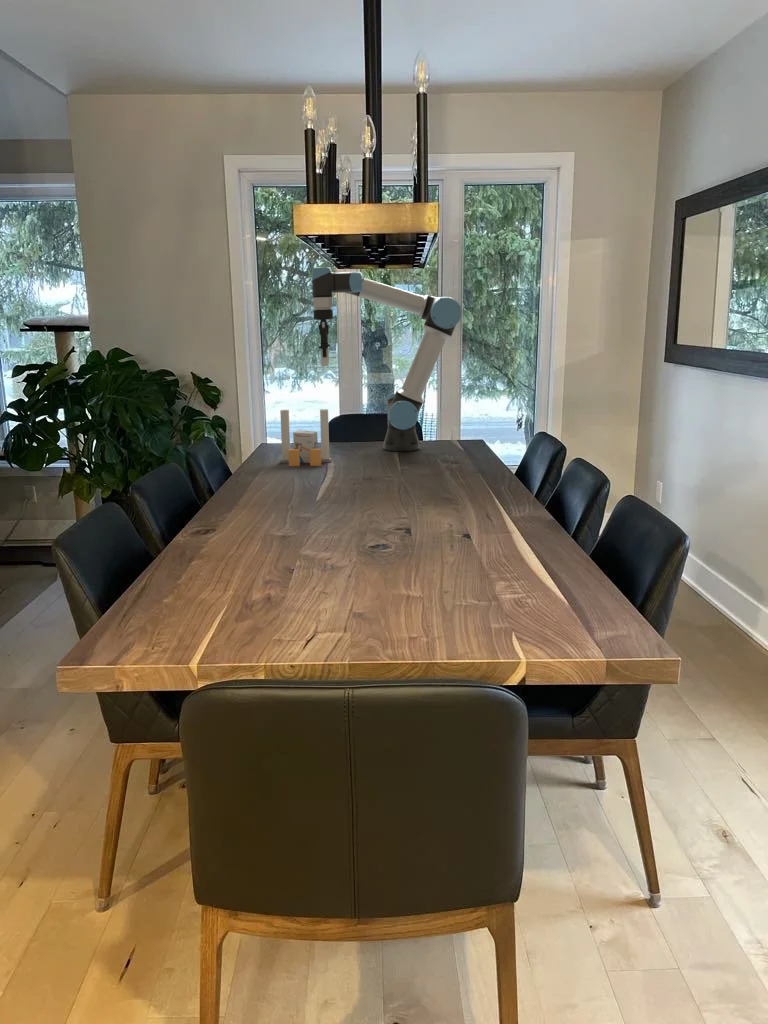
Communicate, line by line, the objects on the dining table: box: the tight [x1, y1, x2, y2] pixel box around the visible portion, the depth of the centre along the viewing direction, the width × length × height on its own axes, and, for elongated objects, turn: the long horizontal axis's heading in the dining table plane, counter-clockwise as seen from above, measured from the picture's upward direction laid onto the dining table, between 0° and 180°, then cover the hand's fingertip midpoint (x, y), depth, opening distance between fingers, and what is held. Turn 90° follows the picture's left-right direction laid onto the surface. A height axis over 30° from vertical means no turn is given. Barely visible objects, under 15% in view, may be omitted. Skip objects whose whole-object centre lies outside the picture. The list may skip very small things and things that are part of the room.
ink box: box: [292, 429, 319, 464], centre depth 295 cm, size 9×5×12 cm, turn 73°
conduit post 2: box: [319, 408, 332, 463], centre depth 294 cm, size 4×4×20 cm
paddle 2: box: [309, 448, 322, 467], centre depth 289 cm, size 4×3×6 cm
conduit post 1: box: [279, 409, 291, 464], centre depth 293 cm, size 4×4×20 cm
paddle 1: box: [288, 448, 301, 467], centre depth 289 cm, size 4×3×6 cm
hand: (325, 364), depth 301 cm, fingers open, 13 cm apart
